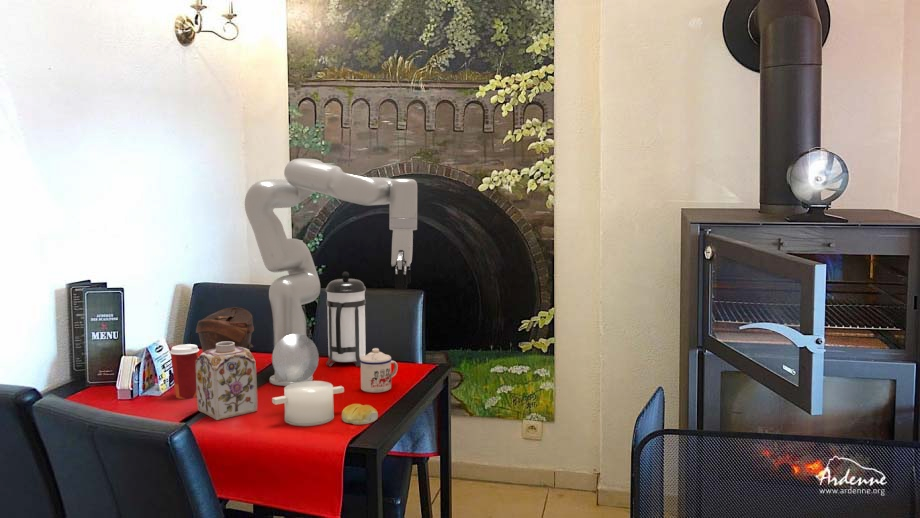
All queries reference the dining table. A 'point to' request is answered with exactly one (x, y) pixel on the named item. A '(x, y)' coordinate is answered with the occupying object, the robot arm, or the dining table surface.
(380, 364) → the teacup with lid
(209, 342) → the case
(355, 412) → the bread roll
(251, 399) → the decorative jar
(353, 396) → the dining table surface
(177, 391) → the paper cup
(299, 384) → the pot
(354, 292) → the coffee press
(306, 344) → the lid
